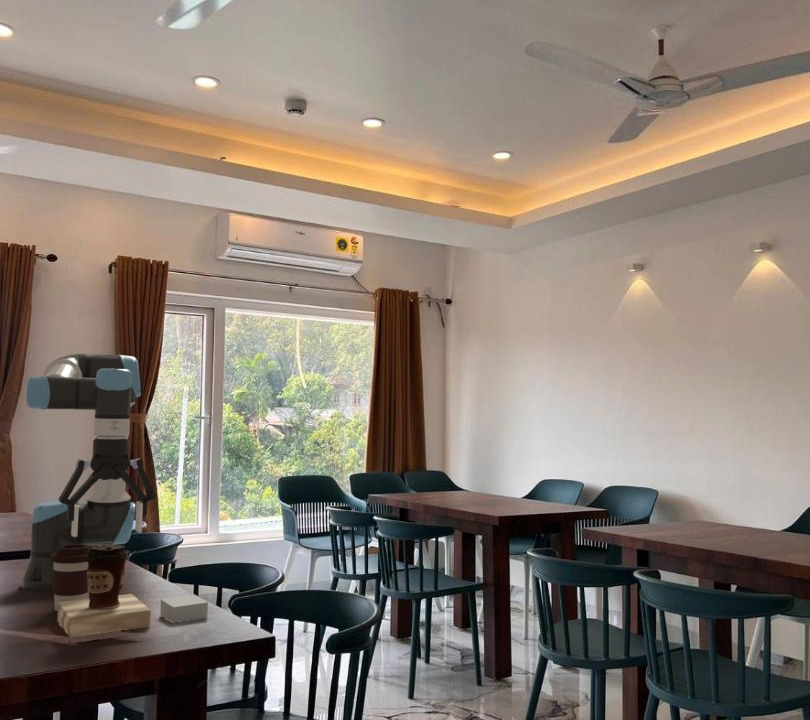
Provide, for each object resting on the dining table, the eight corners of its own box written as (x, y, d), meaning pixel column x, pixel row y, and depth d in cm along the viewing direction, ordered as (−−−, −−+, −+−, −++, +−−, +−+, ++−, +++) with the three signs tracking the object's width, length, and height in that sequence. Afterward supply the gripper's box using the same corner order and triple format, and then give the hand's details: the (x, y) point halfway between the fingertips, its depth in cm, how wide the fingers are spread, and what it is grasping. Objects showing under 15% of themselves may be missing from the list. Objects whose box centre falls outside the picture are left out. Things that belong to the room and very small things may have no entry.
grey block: (160, 621, 176) (160, 599, 176) (193, 616, 181) (194, 595, 181) (172, 630, 169) (173, 607, 170) (206, 624, 174) (207, 602, 175)
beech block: (56, 624, 171) (58, 602, 171) (130, 615, 179) (131, 594, 180) (70, 644, 157) (71, 619, 158) (149, 633, 166) (150, 609, 166)
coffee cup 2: (109, 613, 163) (112, 551, 164) (74, 610, 165) (77, 549, 165) (132, 603, 171) (134, 544, 172) (98, 600, 173) (101, 542, 174)
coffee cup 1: (102, 607, 186) (105, 544, 187) (72, 617, 177) (75, 551, 178) (69, 602, 190) (72, 541, 191) (38, 612, 180) (42, 548, 181)
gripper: (53, 438, 161) (48, 540, 160) (172, 438, 175) (168, 532, 173) (47, 437, 167) (42, 535, 166) (162, 436, 181) (159, 527, 180)
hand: (107, 533), depth 170 cm, fingers open, 13 cm apart
